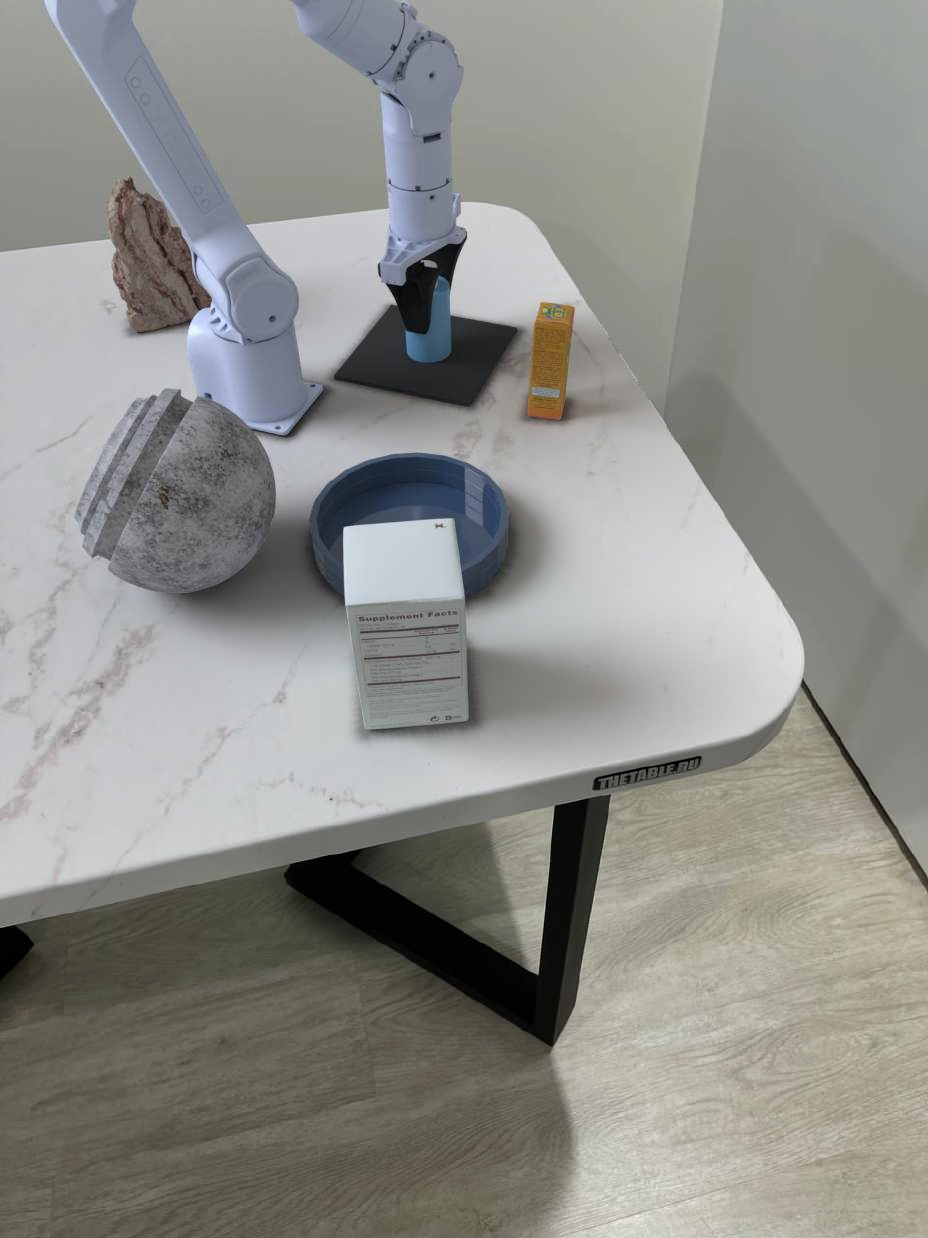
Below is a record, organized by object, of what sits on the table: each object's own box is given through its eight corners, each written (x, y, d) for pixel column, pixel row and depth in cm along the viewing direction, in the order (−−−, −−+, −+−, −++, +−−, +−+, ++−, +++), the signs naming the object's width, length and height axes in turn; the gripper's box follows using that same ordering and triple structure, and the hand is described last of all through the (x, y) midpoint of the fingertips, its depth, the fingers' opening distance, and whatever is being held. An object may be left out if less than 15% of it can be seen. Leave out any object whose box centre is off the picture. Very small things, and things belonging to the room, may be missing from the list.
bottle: (400, 358, 100) (394, 272, 93) (417, 335, 102) (412, 250, 96) (441, 366, 99) (438, 280, 92) (457, 343, 101) (455, 258, 95)
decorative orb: (145, 497, 86) (96, 342, 75) (310, 513, 85) (283, 356, 74) (72, 623, 76) (3, 465, 65) (257, 644, 75) (217, 485, 64)
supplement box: (563, 421, 93) (570, 323, 85) (526, 417, 93) (529, 320, 86) (568, 400, 95) (575, 303, 88) (532, 397, 95) (535, 300, 88)
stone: (94, 202, 93) (204, 191, 95) (87, 163, 97) (192, 153, 100) (125, 337, 104) (223, 324, 107) (117, 296, 109) (211, 285, 111)
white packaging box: (360, 652, 74) (341, 522, 65) (461, 644, 74) (457, 513, 65) (361, 733, 69) (342, 605, 60) (470, 725, 69) (467, 595, 60)
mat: (334, 379, 98) (333, 375, 98) (391, 307, 107) (391, 304, 107) (469, 406, 95) (469, 403, 94) (517, 330, 103) (517, 327, 103)
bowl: (280, 583, 79) (274, 555, 77) (363, 464, 89) (360, 436, 87) (467, 633, 75) (466, 605, 73) (533, 502, 85) (534, 474, 83)
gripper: (431, 220, 82) (437, 365, 92) (490, 149, 91) (490, 288, 101) (352, 208, 84) (367, 351, 94) (418, 140, 93) (425, 277, 103)
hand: (426, 318), depth 98 cm, fingers closed on bottle, 4 cm apart
